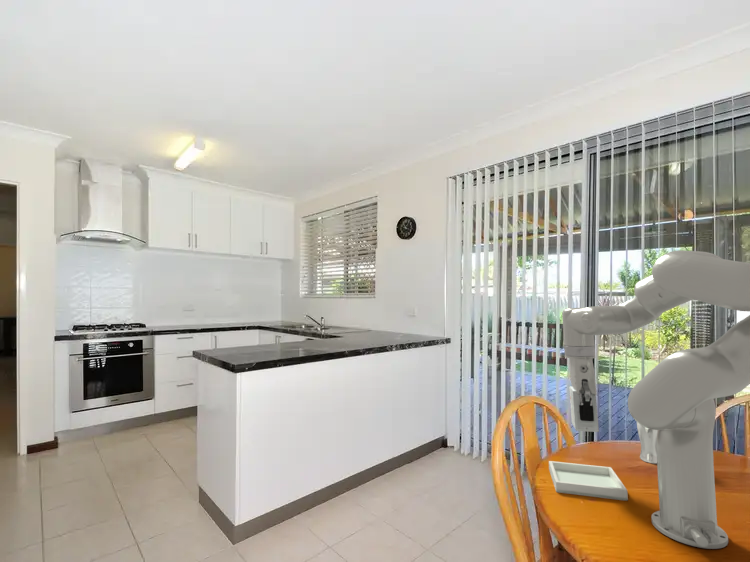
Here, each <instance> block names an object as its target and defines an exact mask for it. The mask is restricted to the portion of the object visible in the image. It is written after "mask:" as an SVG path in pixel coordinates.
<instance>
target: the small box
mask: <svg viewBox="0 0 750 562" xmlns="http://www.w3.org/2000/svg"><path fill="white" fill-rule="evenodd" d="M568 389H569V390H568V391H569V402H570V416H571V424H572V426H573V428H574V429H575V431H576V432H577V431H578V432H591V433H593V432H594V433H599V432H600V430H599V417H598V404H597V395H596V396H594V394H591V398H592V404H593V413H594V421H581V420H580V410H579V405H580V398H579V395H577V394H576V391H575V390H574V389H573V388H572V386H568ZM590 392H591V391H590ZM581 393H584V391H581ZM582 398H583V396H582ZM582 400H583V399H582Z"/></svg>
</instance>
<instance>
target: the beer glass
mask: <svg viewBox="0 0 750 562" xmlns="http://www.w3.org/2000/svg"><path fill="white" fill-rule="evenodd" d="M636 427H637V428H636V429H637V433H638V437H639V442H640V452H639V453H640V455H639V459H640V460H641V461H643V462H646V463H649V464H652V465H653V464H654V465H657V448H656V439H657V431H658V430H652V429H649V428H646V427H644V426H642V425H640V424H639V423H638V422H637V421H636Z"/></svg>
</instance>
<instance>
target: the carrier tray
mask: <svg viewBox="0 0 750 562" xmlns="http://www.w3.org/2000/svg"><path fill="white" fill-rule="evenodd" d="M548 471H549V473H550V476H551V480H552V484H553V486H554V490H555V492H556V493H560V494H561V493H562V494H570V495H578V496H585V497H594V498H601V499H611V500H617V501H618V500H619V501H627V502H628V501H629V498H628V497H629V496H628V488H627V487H626V486H625V485H624V484H623V482H622V480H621V479H620V477H619V476H618V475H617V474H616V471H614V470H613V468H612V466H601V465H592V464H591V465H590V464H584V463H574V462H573V463H572V462H563V461H554V460H548Z"/></svg>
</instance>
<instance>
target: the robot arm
mask: <svg viewBox="0 0 750 562" xmlns="http://www.w3.org/2000/svg"><path fill="white" fill-rule="evenodd" d="M633 291H634V295H635V296H634V297H633V298H631V299H629V300H627V301H624V302H623V303H620V304H619V305H599V306H598V305H597V306H594V305H593V306H587V307H569V308H565V309H563V310H562V318H561V319H562V330H563V344H564V346H563V348H564V357H565V358H566V359H567V358H568V360H569V372H570V374H569V375H570V384H571V386H572V388H573V389H574V390H575V391H576V394H577V395H579V398H580V405H579V410H580V420H581V421H594V413H593V404H592V398H591V394H594V396H596V397H597V394H598V393H597V384H596V375H595V368H594V363H593V359H596V348H595V336H607V335H623V334H627V333H630V332H632V331H635V330H638V329H640V328H642V327H645V326H647V325H649V324H651V323H653V322H654V321H656V320H657V319H658V318H659V317H660V316H661V315H662V314H663V313H665V312H667V311H669V310H672V309H674V308H676V307H679V306H681V305H684V304H685V303H688V302H690V301H692V300H694V301H699V302H702V303H706V304H709V305H713V306H716V307H720V308H724V309H728V310H732V311H739V312H750V262H745V261H737V260H732V259H724V258H722V257H721V256H719V255H717V254H716V253H715V254H714V253H712V252H708V251H702V250H701V251H698V250H684V249H683V250H681V249H680V250H672V251H669V252H667V253H665V254H663V255H661V256H660V257H659V258H658V259H656V261H655V262H654V264H653V266H652V268H651V274H650V275H648V276H646V277H644V278H641V279H640V280H638V281H637V282H636V283H635V285H634V289H633ZM749 385H750V314H749V315H747V316H746V317H745V318H743V319H742V320H740V321H738V322H737V323H736V324H734V325H732V326H731V327H730V328H729V329H728V330H727V331H726V332H725V333H724V334H722V335H721V336H720V337H718V339H716V340H715V341H714V342H712V343H710V344H709V345H706V346H704V347H697V348H695V347H694V348H686V349H681V350H678V351H675V352H673V353H671V354H669V355H668V356H666V357H665V358H663V359H662V360H661V361H660V362H659V363H658V364H657V365H656V366H654V367H653V368H652V369H651V370H650V371H649V372H648V373H647V374H646V375H645V376H644V377H642V378H641V379H640V380H639V381H638V382H637V383H636V384H635V385H634V386H632V389H631V390H630V392H629V394H628V398H627V409H628V411H629V414H630V415H631V417H632V419H633V420H635V422H636V423H637V422H638V423H639V424H640V425H642V426H644V427H646V428H649V429H652V430H658V431H657V439H656V448H657V464H656V466H657V468H656V469H657V483H658V484H657V487H658V503H659V506H658V507H659V510H656V511H655V512H653V513H652V514H651V517H650V518H651V524H652V525H653V526H654V528H655V529H656V530H657V531H659V533H661V534H663V535H664V536H666V537H668V538H670V539H673V540H675V541H677V542H679V543H682V544H684V545H687V546H691V547H697V548H700V549H706V550H708V549H709V550H711V549H712V550H718V549H722V548H725V547H726V546H727V547H728V544H729V536H728V534H727V532H726V531H725V530H724V529H723V528H722V527H720V526H719V525H718V520H717V518H718V516H717V514H718V513H717V501H716V499H717V498H716V486H715V483H716V482H715V468H714V467H715V466H714V465H715V464H714V439H713V438H714V429H715V422H716V416H717V414H716V413H717V409H716V403H715V399H719V398H726V397H731V396H734V395H736V394H738V393H740V392H741V391H743V390H744V389H745V388H747V387H749ZM581 391H584V393H581ZM590 391H591V392H590ZM582 396H583V398H582ZM582 399H583V400H582Z"/></svg>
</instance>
